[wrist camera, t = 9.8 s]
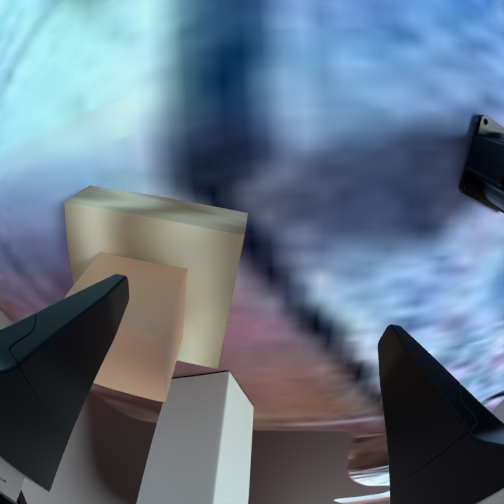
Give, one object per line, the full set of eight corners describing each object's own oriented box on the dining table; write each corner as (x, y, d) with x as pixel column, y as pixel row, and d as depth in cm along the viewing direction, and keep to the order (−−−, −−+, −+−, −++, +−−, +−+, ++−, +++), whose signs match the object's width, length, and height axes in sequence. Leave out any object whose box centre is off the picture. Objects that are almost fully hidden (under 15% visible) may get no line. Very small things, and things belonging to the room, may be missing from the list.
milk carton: (169, 377, 29) (127, 541, 13) (230, 369, 28) (207, 558, 11) (198, 411, 32) (174, 553, 16) (253, 405, 31) (244, 561, 14)
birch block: (248, 210, 21) (244, 235, 17) (223, 335, 26) (217, 368, 23) (92, 184, 20) (64, 202, 16) (101, 306, 26) (83, 334, 22)
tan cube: (187, 269, 18) (162, 337, 13) (183, 336, 21) (165, 402, 16) (101, 252, 18) (55, 309, 13) (109, 319, 21) (78, 377, 15)
